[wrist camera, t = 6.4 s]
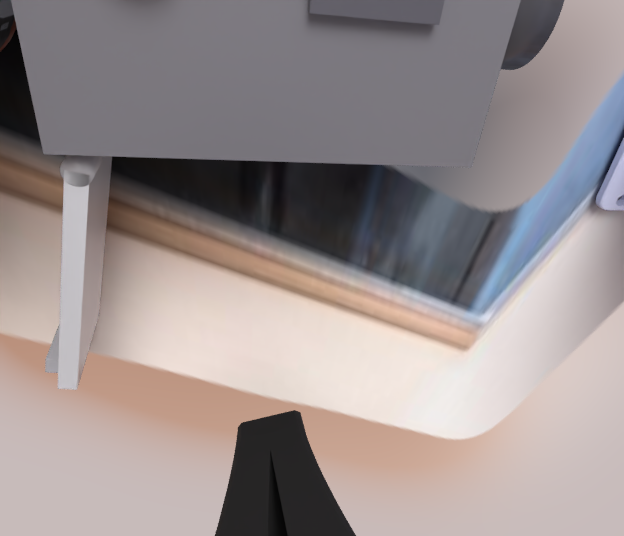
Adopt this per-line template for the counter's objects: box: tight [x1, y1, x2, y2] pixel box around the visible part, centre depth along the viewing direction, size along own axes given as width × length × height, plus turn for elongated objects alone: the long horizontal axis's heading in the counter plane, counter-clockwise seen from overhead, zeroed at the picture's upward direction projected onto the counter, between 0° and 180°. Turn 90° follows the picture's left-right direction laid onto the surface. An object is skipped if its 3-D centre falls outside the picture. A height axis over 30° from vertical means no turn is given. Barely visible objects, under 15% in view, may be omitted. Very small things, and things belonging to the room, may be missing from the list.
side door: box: [45, 155, 112, 390], centre depth 16 cm, size 8×1×4 cm, turn 164°
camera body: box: [11, 0, 564, 168], centre depth 13 cm, size 13×7×6 cm, turn 85°
